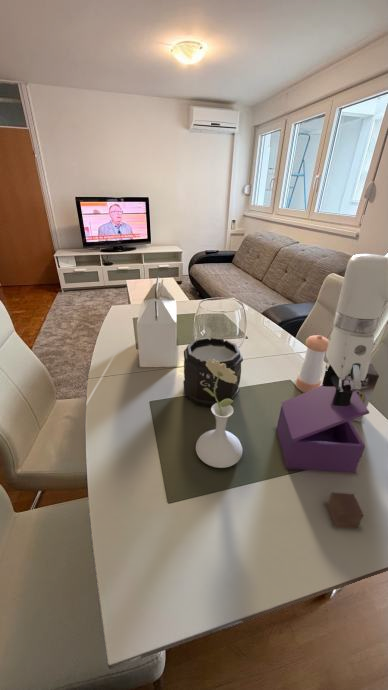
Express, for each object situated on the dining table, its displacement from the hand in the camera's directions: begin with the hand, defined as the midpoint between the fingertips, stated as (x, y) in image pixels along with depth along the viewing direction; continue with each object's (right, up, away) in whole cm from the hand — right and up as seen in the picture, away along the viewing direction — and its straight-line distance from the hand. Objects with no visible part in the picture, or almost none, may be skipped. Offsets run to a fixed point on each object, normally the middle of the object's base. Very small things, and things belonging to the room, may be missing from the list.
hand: (334, 394), depth 66 cm
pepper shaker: (+6, -3, +32) cm, 33 cm away
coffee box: (+12, -9, +21) cm, 26 cm away
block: (-2, -24, -6) cm, 25 cm away
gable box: (-45, +8, +50) cm, 68 cm away
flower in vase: (-26, -15, +8) cm, 31 cm away
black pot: (-26, -4, +29) cm, 39 cm away
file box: (-2, -16, +8) cm, 18 cm away
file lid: (-2, -4, +2) cm, 5 cm away
